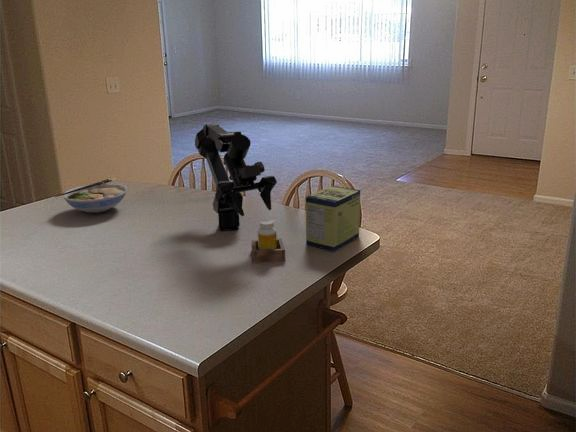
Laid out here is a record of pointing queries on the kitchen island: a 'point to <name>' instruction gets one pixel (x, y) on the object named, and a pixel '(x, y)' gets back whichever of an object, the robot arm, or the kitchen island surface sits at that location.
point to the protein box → (332, 217)
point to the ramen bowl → (95, 196)
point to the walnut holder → (268, 252)
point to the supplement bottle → (267, 235)
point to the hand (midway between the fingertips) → (257, 212)
